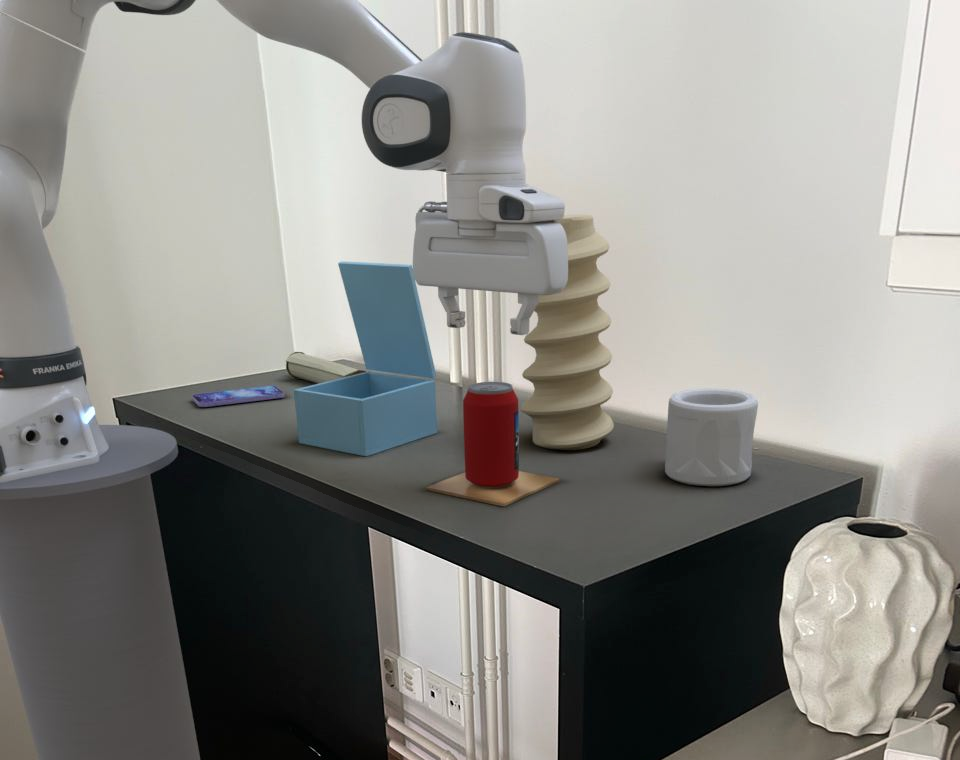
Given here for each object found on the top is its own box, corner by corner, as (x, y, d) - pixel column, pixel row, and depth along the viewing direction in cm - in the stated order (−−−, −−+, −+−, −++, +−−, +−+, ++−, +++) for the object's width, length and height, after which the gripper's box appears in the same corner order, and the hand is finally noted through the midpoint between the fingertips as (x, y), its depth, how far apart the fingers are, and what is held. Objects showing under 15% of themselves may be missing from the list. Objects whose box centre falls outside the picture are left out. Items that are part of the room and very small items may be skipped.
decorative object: (632, 443, 141) (642, 214, 128) (556, 458, 135) (558, 220, 122) (576, 425, 151) (579, 212, 138) (503, 438, 145) (499, 216, 132)
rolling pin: (385, 401, 170) (383, 371, 168) (356, 405, 167) (354, 375, 165) (304, 373, 194) (301, 347, 192) (277, 377, 191) (275, 350, 189)
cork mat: (503, 506, 117) (503, 503, 117) (426, 490, 124) (426, 486, 124) (559, 481, 126) (559, 478, 125) (484, 467, 132) (484, 464, 132)
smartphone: (285, 393, 173) (199, 403, 168) (286, 398, 174) (200, 408, 168) (274, 384, 179) (190, 394, 174) (274, 389, 180) (191, 399, 174)
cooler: (366, 456, 139) (361, 400, 135) (299, 443, 146) (293, 389, 143) (437, 432, 150) (435, 380, 146) (371, 421, 157) (368, 371, 154)
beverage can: (530, 481, 125) (530, 385, 119) (492, 494, 120) (490, 394, 115) (492, 471, 129) (490, 378, 124) (454, 483, 125) (450, 387, 120)
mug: (769, 478, 125) (777, 398, 120) (703, 493, 120) (709, 410, 116) (697, 454, 135) (702, 380, 131) (634, 467, 131) (637, 390, 126)
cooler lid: (408, 266, 136) (411, 264, 136) (337, 263, 143) (341, 261, 144) (433, 378, 146) (436, 376, 146) (366, 369, 153) (369, 367, 154)
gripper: (397, 202, 114) (403, 326, 120) (544, 204, 103) (542, 342, 109) (433, 200, 119) (437, 320, 125) (577, 202, 107) (573, 334, 113)
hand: (487, 330), depth 117 cm, fingers open, 8 cm apart
